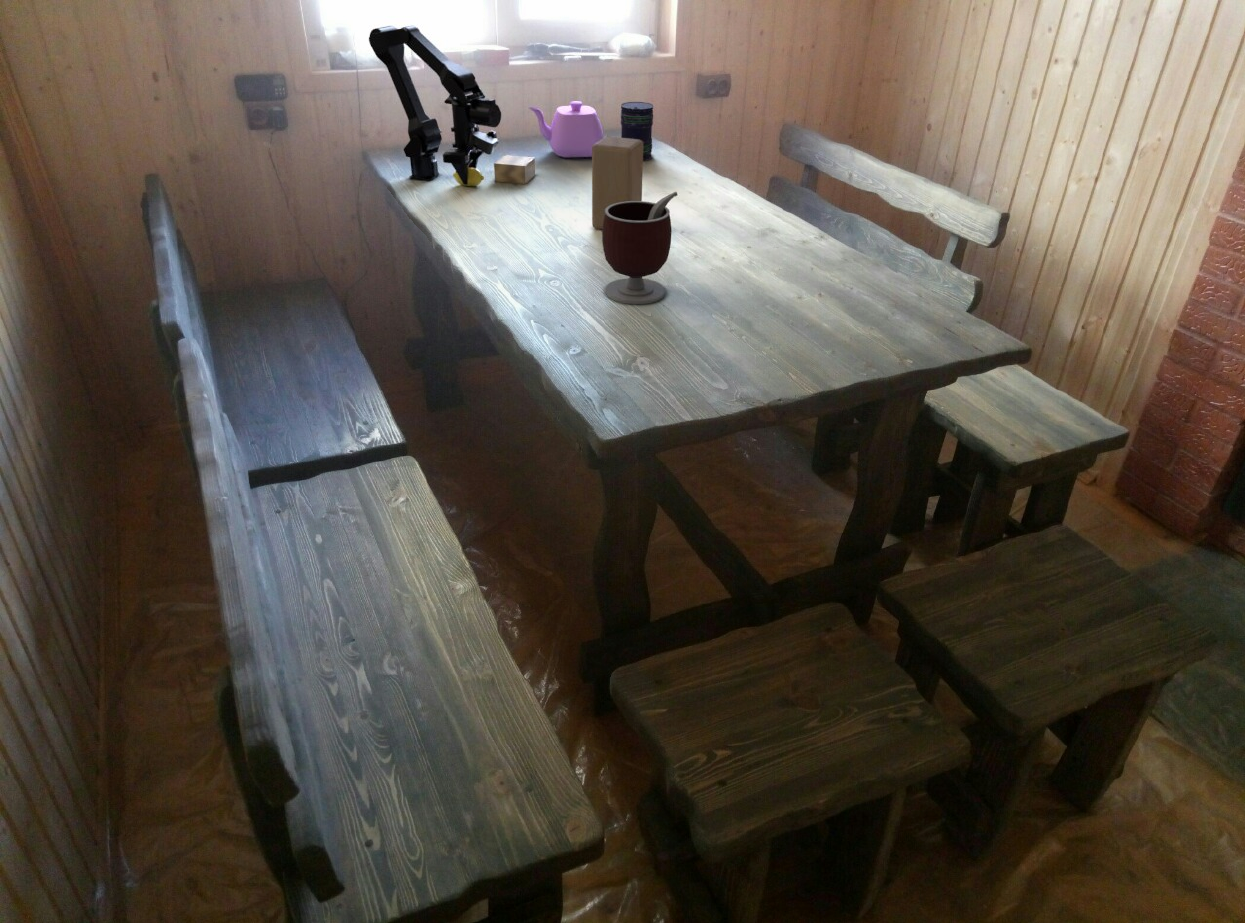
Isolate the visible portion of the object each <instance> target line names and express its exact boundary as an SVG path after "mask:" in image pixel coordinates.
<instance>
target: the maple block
mask: <svg viewBox="0 0 1245 923" xmlns="http://www.w3.org/2000/svg"><path fill="white" fill-rule="evenodd" d="M493 170H494V182H496V183H497V182H499V183H508V184H509V183H510V184H519V185H520V184H521V185H526V184H528V182H529V181H531V180H532V179H533V178H534V177H535V176H536V158H535V157H534V156H533V157H532V156H521V155H510V154H509V155H507V154H504V155H503V156H501V157H500V158H499V159H497V160H496V161H495V162H493Z"/></svg>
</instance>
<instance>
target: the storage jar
mask: <svg viewBox="0 0 1245 923" xmlns="http://www.w3.org/2000/svg"><path fill="white" fill-rule="evenodd" d="M620 125H621V126H620V127H621V129H620V130H621V131H620V132H621V133H620V135H621V136H620V138H629V139H638V140H641V141H643V162H644V161H648V160H651V159H652V157H653V156H652V150H653V138H652V135H653V134H652V132H653V130H652V129H653V125H654V104H652V103H650V102H644V101H628V102H627V101H626V102H623V103H621V104H620Z"/></svg>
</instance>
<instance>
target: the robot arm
mask: <svg viewBox="0 0 1245 923" xmlns="http://www.w3.org/2000/svg"><path fill="white" fill-rule="evenodd" d="M368 42H369V45H370V47H371V49H372V50H373V54H374V55H375V56H376V57H377V59H378V60H380V61H381V62H382V63H383V64H384V65H385V67H386V68H387V71H388V73H389V76H390V78H391V80H392V84H393V85H394V88H395V90H396V93H397V95H398V98H399V100H400V103H401V105H402V107H403V110H404V112H405V115H406V117H407V121H408V123H407V134H408V138H409V141H408V142H407V144H406V145H405V146H404V148H403V153H404V155H405V157H406V158H409V162H410V171H411V175H410V176H409V179H410V180H419V181H420V180H421V181H432V180H434V179H435V178H436V177H438V176H439V175H440V172H439V167H438V160H437V159H436V153H438V152H439V150H440V149H439V148H440V145H441V143H442V140H443V138H442V133H443V131H442V129H440V126H439V124H438V121H437V118H436V117H432V118H430V116H428V114H426V111H425V109H424V106H423V104H422V101H421V99H420V97H419V94H418V92H417V89H416V87H415V85H414V84H415V83H414V82H413V78H412V77H411V74H410V72H409V69H408V67H407V64H406V61H405V45H406V46H407V47H408V48H409V49H410V50H411V51H412V52H413V53H414V54H415V55H416V56H417V57H419V58H420V59H421V60H422V61H423V62H424V64H426V65H427V66H428V67H429V68H430V69H431V70H432V71H433V72H434V73H435V74H436V75H437V76H438V78H439V80H440V84H441V85H442V86H443V88H444V89H445V91H447V94H448V97H447V98H446V99H445V100H444V102H443V103H444V104H446V105H451V112H452V123H453V124H452V125H453V126H451V127H450V131H451V132H452V133H454V134H453V135H454V142H453V143H452V147H451V148H449V149H447V150H445V152H443V154H442V161H443V163H444V164H451V166H452V168H453V169H454V170H455V173H456V172H457V174H458V175H459V177H460V179H461V181H462V182H463V184H466V185H467V184H468V168H476V169H477V167H478V162H479V158H481V156H482V155H483V154H486V155H492V153H495V151H496V147H497V145H498V144H499V138H498V136H497V135H498V134H497V132H496V131H494V130H489V131H488V132H487V133H486V132H481V131H480V126H482V127H488V128H497V127H498V126H499V125H500V123H501V120H502V110H501V108H500V107H499V105H498V104H496V103H497V102H496V99H495V98H486V95H485V93H484V92H483V91H482V89H481V87H480V85H479V84H478V82H477V80H476V76H475V75H474V73H473V72H471V71H470V70H469V69H468V68H466V67H464V66H463V65H461V64H458V63H456V62H453V61H452V60H451V59H449V57H447V56H446V55H445V53H443V52H442V51H441V50H440V49H439V48H437V46H435V44H433V43H432V41H431V40H429V39H428V38H427V37H426V36H425V35H424V34H423V33H422V32H421V30H420V29H419V27H417V26H415V25H408V26H403V27H401V28H397V27H395V26H394V25H387V26H382V27H377V28H373V29H371V31H370V32H369V37H368ZM466 185H465V186H466Z"/></svg>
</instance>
